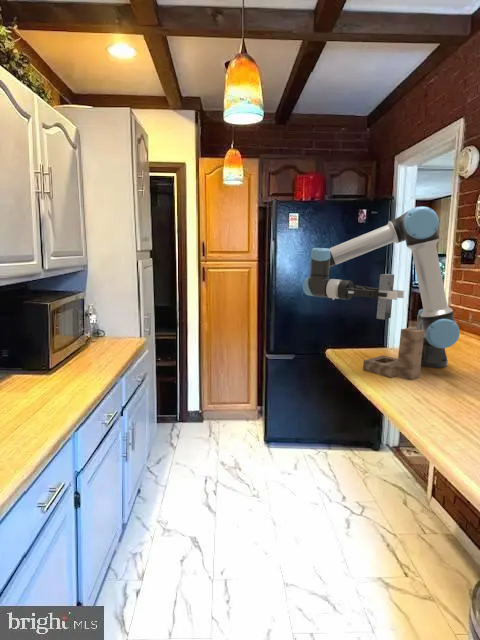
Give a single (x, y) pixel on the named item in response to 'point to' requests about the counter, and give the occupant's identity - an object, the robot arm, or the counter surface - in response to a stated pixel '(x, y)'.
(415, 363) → the wooden post with frame
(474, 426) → the counter surface
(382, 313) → the grey metal block
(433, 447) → the counter surface
